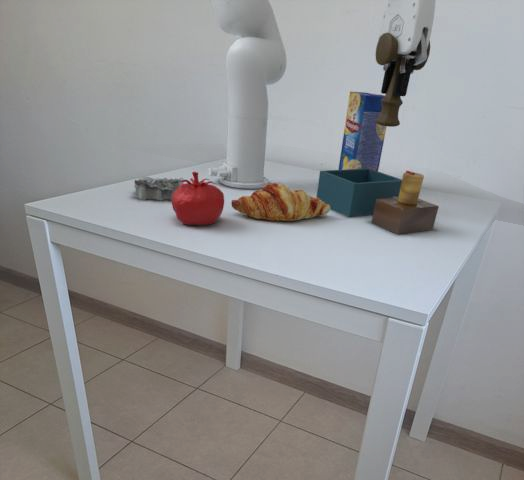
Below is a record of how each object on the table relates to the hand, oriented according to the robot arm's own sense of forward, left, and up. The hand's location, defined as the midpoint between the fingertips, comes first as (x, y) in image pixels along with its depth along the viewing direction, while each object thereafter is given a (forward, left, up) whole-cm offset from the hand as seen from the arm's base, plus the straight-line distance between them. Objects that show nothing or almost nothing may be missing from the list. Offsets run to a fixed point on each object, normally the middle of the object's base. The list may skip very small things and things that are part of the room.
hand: (393, 93), depth 100 cm
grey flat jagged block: (-44, +21, -24) cm, 54 cm away
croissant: (-25, 0, -24) cm, 34 cm away
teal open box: (-3, +2, -24) cm, 24 cm away
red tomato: (-43, +2, -24) cm, 49 cm away
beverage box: (+11, +20, -24) cm, 33 cm away
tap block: (-3, -13, -24) cm, 27 cm away
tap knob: (-3, -13, -19) cm, 23 cm away
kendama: (0, 0, -6) cm, 6 cm away
